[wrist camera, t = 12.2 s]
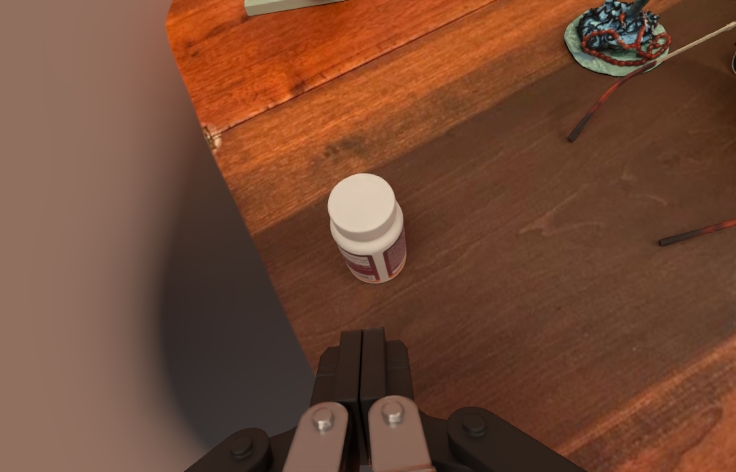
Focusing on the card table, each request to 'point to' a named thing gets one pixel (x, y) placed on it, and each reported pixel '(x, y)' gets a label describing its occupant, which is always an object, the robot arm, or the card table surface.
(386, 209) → the pill bottle
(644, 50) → the dish
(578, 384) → the card table surface
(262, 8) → the scale
